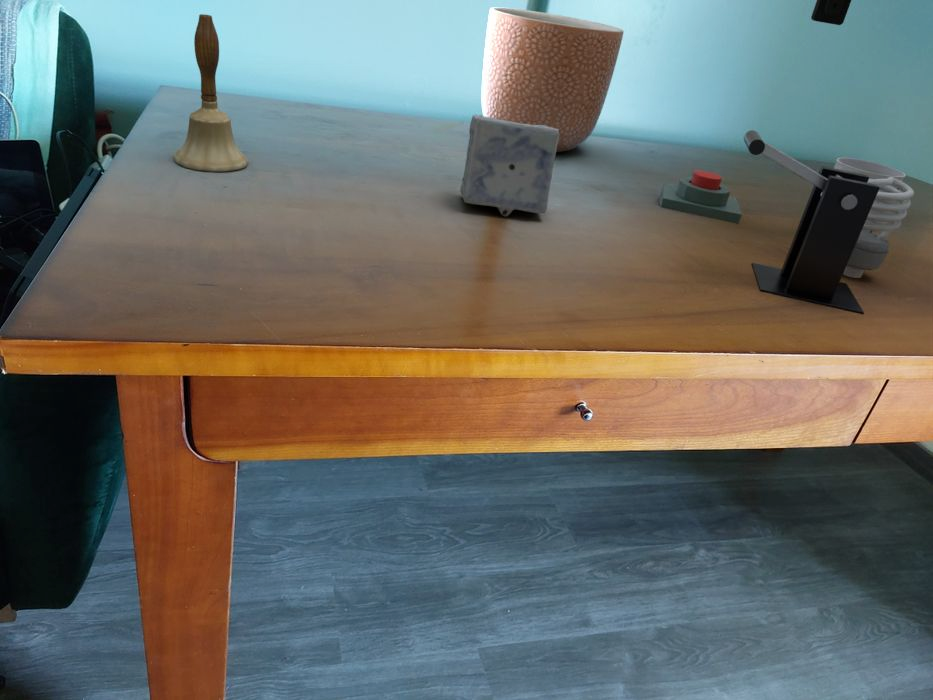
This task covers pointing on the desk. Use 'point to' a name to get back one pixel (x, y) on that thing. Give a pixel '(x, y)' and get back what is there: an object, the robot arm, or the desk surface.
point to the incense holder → (509, 165)
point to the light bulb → (879, 226)
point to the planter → (548, 71)
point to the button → (706, 180)
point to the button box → (700, 200)
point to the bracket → (823, 243)
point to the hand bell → (209, 114)
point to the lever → (783, 159)
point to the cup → (869, 173)
